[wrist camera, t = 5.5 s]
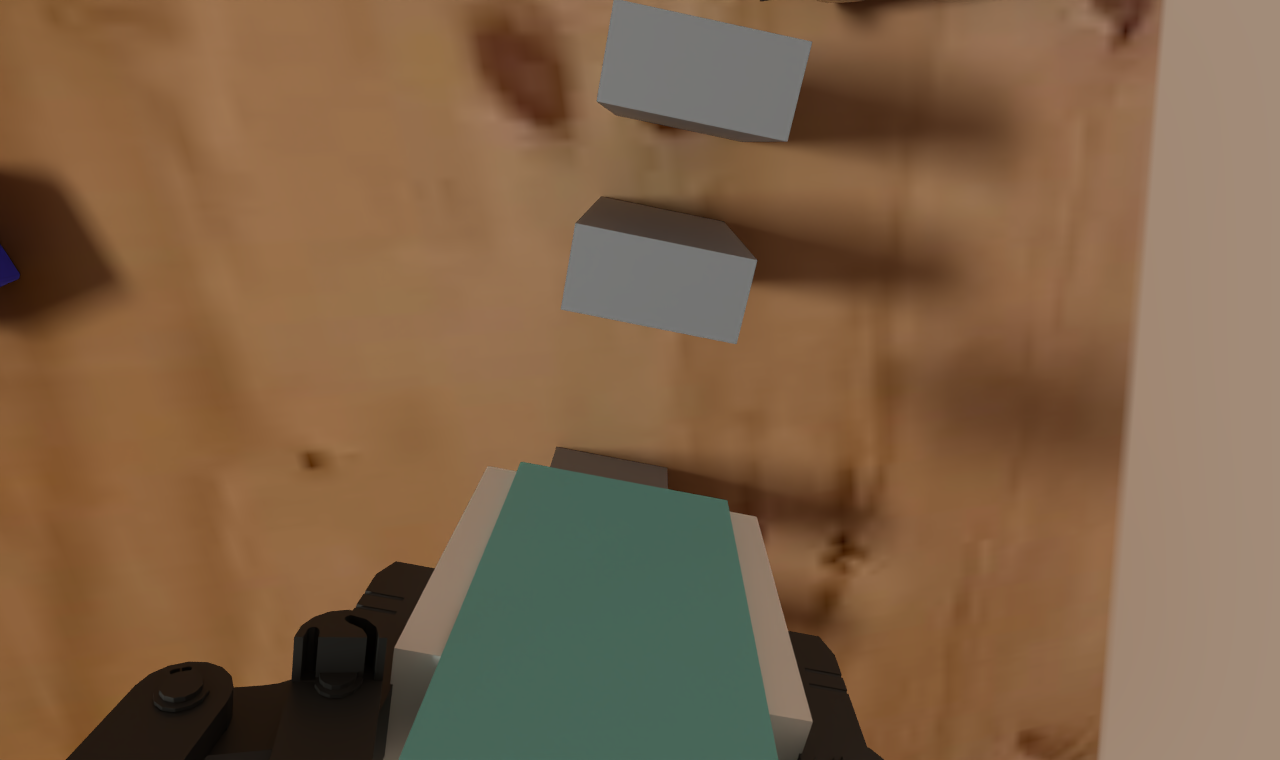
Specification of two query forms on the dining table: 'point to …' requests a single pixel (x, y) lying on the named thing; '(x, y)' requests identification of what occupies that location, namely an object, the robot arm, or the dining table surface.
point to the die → (7, 269)
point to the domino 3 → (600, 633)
